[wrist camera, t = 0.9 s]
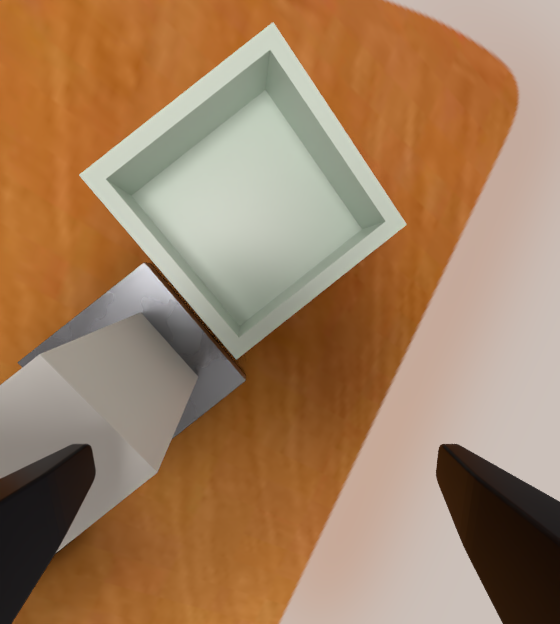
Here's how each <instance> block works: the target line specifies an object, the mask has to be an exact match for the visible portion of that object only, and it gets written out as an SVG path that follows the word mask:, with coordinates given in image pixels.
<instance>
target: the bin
mask: <svg viewBox="0 0 560 624" xmlns="http://www.w3.org/2000/svg"><path fill="white" fill-rule="evenodd" d="M79 176H80V177H81V178H82V179H83V180H84V182H85V183H86V184H87V185H88V186H89V187H90V189H91V190H92V191H93V192H94V193H95V194H96V196H97V197H98V198H99V199H100V200H101V201H102V203H103V204H104V205H105V206H106V207H107V209H108V210H109V211H110V212H111V213H112V214H113V216H114V217H115V218H116V219H117V220H118V221H119V223H120V224H121V225H122V226H123V227H124V228H125V230H126V231H127V232H128V233H129V234H130V235H131V237H132V238H133V239H134V240H135V241H136V243H137V244H138V245H139V246H140V247H141V248H142V250H143V251H144V252H145V253H146V254H147V255H148V257H149V258H150V259H151V260H152V261H153V262H154V264H155V265H156V266H157V267H158V268H159V270H160V271H161V272H162V273H163V274H164V275H165V277H166V278H167V279H168V280H169V281H170V282H171V284H172V285H173V286H174V287H175V288H176V289H177V291H178V292H179V293H180V294H181V295H182V296H183V298H184V299H185V300H186V301H187V302H188V304H189V305H190V306H191V307H192V308H193V309H194V311H195V312H196V313H197V314H198V315H199V316H200V318H201V319H202V320H203V321H204V322H205V323H206V325H207V326H208V327H209V328H210V329H211V331H212V332H213V333H214V334H215V335H216V336H217V338H218V339H219V340H220V341H221V342H222V343H223V345H224V346H225V347H226V348H227V349H228V350H229V352H230V353H231V354H232V355H233V356H234V357H235V359H236V360H237V359H238V358H239V357H241V356H242V355H243V354H244V353H246V352H247V351H248V350H249V349H251V348H252V347H253V346H254V345H256V344H257V343H258V342H259V341H261V340H262V339H263V338H264V337H266V336H267V335H268V334H269V333H271V332H272V331H273V330H275V329H276V328H277V327H278V326H280V325H281V324H282V323H283V322H285V321H286V320H287V319H288V318H290V317H291V316H292V315H293V314H295V313H296V312H297V311H298V310H300V309H301V308H302V307H304V306H305V305H306V304H307V303H309V302H310V301H311V300H312V299H314V298H315V297H316V296H317V295H319V294H320V293H321V292H322V291H324V290H325V289H326V288H327V287H329V286H330V285H331V284H332V283H334V282H335V281H336V280H338V279H339V278H340V277H341V276H343V275H344V274H345V273H346V272H348V271H349V270H350V269H351V268H353V267H354V266H355V265H356V264H358V263H359V262H360V261H361V260H363V259H364V258H365V257H366V256H368V255H369V254H370V253H372V252H373V251H374V250H375V249H377V248H378V247H379V246H380V245H382V244H383V243H384V242H385V241H387V240H388V239H389V238H390V237H392V236H393V235H394V234H395V233H397V232H398V231H399V230H401V229H402V228H403V227H404V226H406V225H407V224H406V223H405V221H404V220H403V218H402V217H401V215H400V214H399V212H398V211H397V209H396V208H395V206H394V205H393V203H392V201H391V200H390V198H389V197H388V195H387V194H386V192H385V191H384V189H383V188H382V186H381V185H380V183H379V182H378V180H377V179H376V177H375V176H374V174H373V173H372V171H371V170H370V168H369V167H368V165H367V164H366V162H365V161H364V159H363V158H362V156H361V155H360V153H359V151H358V150H357V148H356V147H355V145H354V144H353V142H352V141H351V139H350V138H349V136H348V135H347V133H346V132H345V130H344V129H343V127H342V126H341V124H340V123H339V121H338V120H337V118H336V117H335V115H334V114H333V112H332V111H331V109H330V108H329V106H328V105H327V103H326V101H325V100H324V98H323V97H322V95H321V94H320V92H319V91H318V89H317V88H316V86H315V85H314V83H313V82H312V80H311V79H310V77H309V76H308V74H307V73H306V71H305V70H304V68H303V67H302V65H301V64H300V62H299V61H298V59H297V58H296V56H295V54H294V53H293V51H292V50H291V48H290V47H289V45H288V44H287V42H286V41H285V39H284V38H283V36H282V35H281V33H280V32H279V30H278V29H277V27H276V26H275V24H274V23H271V24H270V25H269V26H267V27H266V28H265V29H264V30H262V31H261V32H260V33H259V34H257V35H256V36H255V37H253V38H252V39H251V40H250V41H248V42H247V43H246V44H245V45H243V46H242V47H241V48H239V49H238V50H237V51H236V52H234V53H233V54H232V55H231V56H229V57H228V58H227V59H226V60H224V61H223V62H222V63H220V64H219V65H218V66H217V67H215V68H214V69H213V70H212V71H210V72H209V73H208V74H206V75H205V76H204V77H203V78H201V79H200V80H199V81H198V82H196V83H195V84H194V85H192V86H191V87H190V88H189V89H187V90H186V91H185V92H184V93H182V94H181V95H180V96H179V97H177V98H176V99H175V100H173V101H172V102H171V103H170V104H168V105H167V106H166V107H165V108H163V109H162V110H161V111H159V112H158V113H157V114H156V115H154V116H153V117H152V118H151V119H149V120H148V121H147V122H145V123H144V124H143V125H142V126H140V127H139V128H138V129H137V130H135V131H134V132H133V133H132V134H130V135H129V136H128V137H126V138H125V139H124V140H123V141H121V142H120V143H119V144H118V145H116V146H115V147H114V148H112V149H111V150H110V151H109V152H107V153H106V154H105V155H104V156H102V157H101V158H100V159H98V160H97V161H96V162H95V163H93V164H92V165H91V166H90V167H88V168H87V169H86V170H85V171H83V172H82V173H81V174H79Z"/></svg>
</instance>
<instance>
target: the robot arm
mask: <svg viewBox="0 0 560 624" xmlns="http://www.w3.org/2000/svg"><path fill="white" fill-rule="evenodd" d="M95 475H96V468H95V462H94V457H93V451H92V447H91V446H90V445H89V444H71V445H69V446H67V447H65V448H63V449H61V450H59V451H57V452H55V453H52V454H50V455H48V456H46V457H44V458H42V459H40V460H38V461H36V462H34V463H32V464H30V465H28V466H25V467H23V468H21V469H19V470H17V471H15V472H13V473H11V474H9V475H7V476H5V477H3V478H0V624H12V622H13V621H14V619H15V617H16V616H17V614H18V613H19V611H20V609H21V608H22V606H23V605H24V603H25V601H26V600H27V598H28V597H29V595H30V593H31V592H32V590H33V589H34V587H35V585H36V584H37V582H38V581H39V579H40V577H41V576H42V574H43V573H44V571H45V569H46V568H47V566H48V565H49V563H50V561H51V560H52V558H53V556H54V555H55V554H56V552H57V550H58V548H59V546H60V545H61V543H62V541H63V539H64V538H65V536H66V534H67V532H68V530H69V528H70V526H71V524H72V522H73V521H74V519H75V517H76V515H77V513H78V511H79V509H80V507H81V505H82V503H83V501H84V499H85V497H86V495H87V493H88V491H89V489H90V487H91V486H92V484H93V482H94V479H95ZM436 477H437V481H438V484H439V487H440V489H441V491H442V494H443V496H444V499H445V501H446V504H447V507H448V509H449V511H450V514H451V516H452V519H453V521H454V524H455V527H456V529H457V532H458V534H459V536H460V539H461V541H462V543H463V546H464V548H465V550H466V552H467V554H468V556H469V558H470V560H471V562H472V564H473V566H474V568H475V570H476V572H477V574H478V576H479V578H480V580H481V582H482V584H483V586H484V588H485V590H486V592H487V594H488V596H489V597H490V599H491V601H492V603H493V605H494V607H495V609H496V611H497V613H498V615H499V617H500V619H501V621H502V623H503V624H560V502H559V501H557V500H556V499H554V498H552V497H550V496H549V495H547V494H545V493H543V492H542V491H540V490H538V489H536V488H534V487H532V486H531V485H529V484H527V483H525V482H524V481H522V480H520V479H518V478H516V477H515V476H513V475H511V474H510V473H508V472H506V471H504V470H503V469H501V468H499V467H497V466H496V465H494V464H492V463H490V462H488V461H487V460H485V459H483V458H481V457H479V456H478V455H476V454H474V453H472V452H471V451H469V450H467V449H465V448H464V447H462V446H460V445H458V444H442V445H440V447H439V451H438V459H437V469H436ZM74 539H75V538H74ZM74 539H73V540H74ZM69 543H70V542H69ZM69 543H68V544H69ZM64 547H65V546H64ZM64 547H63V548H64ZM60 550H61V549H60ZM60 550H59V551H60ZM59 551H58V552H59Z"/></svg>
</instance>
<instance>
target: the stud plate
mask: <svg viewBox="0 0 560 624" xmlns="http://www.w3.org/2000/svg"><path fill="white" fill-rule="evenodd" d="M140 312H141V313H142V314H143V315H144V316H145V318H146V319H147V320H148V321H149V322H150V323H151V324H152V325H153V327H154V328H155V329H156V330H157V331H158V332H159V333H160V334H161V336H162V337H163V338H164V339H165V340H166V341H167V342H168V343H169V344H170V346H171V347H172V348H173V349H174V350H175V351H176V352H177V353H178V355H179V356H180V357H181V358H182V359H183V360H184V361H185V362H186V364H187V365H188V366H189V367H190V368H191V369H192V370H193V371H194V373H195V374H196V375H197V376H198V379H197V381H196V383H195V386H194V388H193V390H192V393H191V395H190V397H189V400H188V402H187V404H186V407H185V409H184V411H183V414H182V416H181V418H180V421H179V423H178V426H177V428H176V430H175V433H174V435H173V437H172V439H173V438H174V437H175V436H176V435H178V434H179V433H180V432H181V431H183V430H184V429H185V428H186V427H188V426H189V425H190V424H192V423H193V422H194V421H195V420H197V419H198V418H199V417H200V416H202V415H203V414H204V413H205V412H207V411H208V410H209V409H210V408H212V407H213V406H214V405H215V404H217V403H218V402H219V401H220V400H222V399H223V398H224V397H225V396H227V395H228V394H229V393H231V392H232V391H233V390H234V389H236V388H237V387H238V386H239V385H241V384H242V383H243V382H244V381H246V375H245V374H244V373H243V372H242V370H241V369H240V368H239V367H238V366H237V365H236V363H235V362H234V361H233V360H232V359H231V358H230V356H229V355H228V354H227V353H226V352H225V350H224V349H223V348H222V347H221V346H220V345H219V343H218V342H217V341H216V340H215V339H214V338H213V336H212V335H211V334H210V333H209V332H208V331H207V329H206V328H205V327H204V326H203V325H202V324H201V322H200V321H199V320H198V319H197V318H196V317H195V315H194V314H193V313H192V312H191V311H190V310H189V308H188V307H187V306H186V305H185V304H184V303H183V301H182V300H181V299H180V298H179V297H178V296H177V294H176V293H175V292H174V291H173V290H172V289H171V287H170V286H169V285H168V284H167V283H166V282H165V280H164V279H163V278H162V277H161V276H160V275H159V273H158V272H157V271H156V270H155V269H154V267H153V266H152V265H151V264H150V263H145V262H144V263H143V264H142V265H140V266H139V267H138V268H137V269H135V270H134V271H133V272H132V273H130V274H129V275H128V276H126V277H125V278H124V279H123V280H121V281H120V282H119V283H118V284H116V285H115V286H114V287H113V288H111V289H110V290H109V291H107V292H106V293H105V294H104V295H102V296H101V297H100V298H99V299H97V300H96V301H95V302H94V303H92V304H91V305H90V306H89V307H87V308H86V309H85V310H83V311H82V312H81V313H80V314H78V315H77V316H76V317H75V318H73V319H72V320H71V321H70V322H68V323H67V324H66V325H64V326H63V327H62V328H61V329H59V330H58V331H57V332H56V333H54V334H53V335H52V336H51V337H49V338H48V339H47V340H45V341H44V342H43V343H42V344H40V345H39V346H38V347H37V348H35V349H34V350H33V351H32V352H30V353H29V354H28V355H27V356H25V357H24V358H23V359H21V360H20V361H19V362H18V364H20V365H21V366H22V367H24V366H25V365H27V364H28V363H29V362H30V361H32V360H33V359H34V358H35V357H37V356H38V355H39V354H41V353H43V352H46V351H48V350H51V349H53V348H56V347H58V346H60V345H63V344H65V343H68V342H70V341H73V340H75V339H77V338H80V337H82V336H85V335H87V334H89V333H92V332H94V331H97V330H99V329H102V328H104V327H106V326H109V325H111V324H114V323H116V322H118V321H121V320H123V319H126V318H128V317H131V316H133V315H135V314H138V313H140Z"/></svg>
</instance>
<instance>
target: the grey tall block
mask: <svg viewBox="0 0 560 624" xmlns="http://www.w3.org/2000/svg"><path fill="white" fill-rule="evenodd" d="M197 379H198V376H197V375H196V374H195V373H194V371H193V370H192V369H191V368H190V367H189V366H188V365H187V364H186V362H185V361H184V360H183V359H182V358H181V357H180V356H179V355H178V353H177V352H176V351H175V350H174V349H173V348H172V347H171V346H170V344H169V343H168V342H167V341H166V340H165V339H164V338H163V337H162V336H161V334H160V333H159V332H158V331H157V330H156V329H155V328H154V327H153V325H152V324H151V323H150V322H149V321H148V320H147V319H146V318H145V316H144V315H143V314H142V313H141V312H140V313H138V314H135V315H133V316H131V317H128V318H126V319H123V320H121V321H118V322H116V323H114V324H111V325H109V326H106V327H104V328H102V329H99V330H97V331H94V332H92V333H89V334H87V335H85V336H82V337H80V338H77V339H75V340H73V341H70V342H68V343H65V344H63V345H60V346H58V347H56V348H53V349H51V350H48V351H46V352H43V353H41V354H39V355H38V356H37V357H35V358H34V359H33V360H32V361H30V362H29V363H28V364H27V365H25V366H24V367H23V368H21V369H20V370H19V371H18V372H16V373H15V374H14V375H13V376H11V377H10V378H9V379H8V380H6V381H5V382H4V383H2V384H1V385H0V478H3V477H5V476H7V475H9V474H11V473H13V472H15V471H17V470H19V469H21V468H23V467H25V466H28V465H30V464H32V463H34V462H36V461H38V460H40V459H42V458H44V457H46V456H48V455H50V454H52V453H55V452H57V451H59V450H61V449H63V448H65V447H67V446H69V445H71V444H89V445H90V446H91V447H92V451H93V457H94V462H95V468H96V475H95V479H94V482H93V484H92V486H91V487H90V489H89V491H88V493H87V495H86V497H85V499H84V501H83V503H82V505H81V507H80V509H79V511H78V513H77V515H76V517H75V519H74V521H73V522H72V524H71V526H70V528H69V530H68V532H67V534H66V536H65V538H64V539H63V541H62V543H61V545H60V546H59V548H58V550H57V552H58V551H59V550H60V549H62V548H63V547H64V546H66V545H67V544H68V543H69V542H71V541H72V540H73V539H74V538H76V537H77V536H78V535H79V534H81V533H82V532H83V531H84V530H86V529H87V528H88V527H89V526H91V525H92V524H93V523H94V522H96V521H97V520H98V519H99V518H101V517H102V516H103V515H105V514H106V513H107V512H108V511H110V510H111V509H112V508H113V507H115V506H116V505H117V504H118V503H120V502H121V501H122V500H123V499H125V498H126V497H127V496H128V495H130V494H131V493H132V492H133V491H135V490H136V489H137V488H138V487H140V486H141V485H142V484H144V483H145V482H146V481H147V480H149V479H150V478H151V477H152V476H154V475H155V474H156V473H157V472H158V470H159V468H160V465H161V463H162V461H163V458H164V456H165V454H166V451H167V449H168V447H169V444H170V442H171V440H172V437H173V435H174V433H175V430H176V428H177V426H178V423H179V421H180V418H181V416H182V414H183V411H184V409H185V407H186V404H187V402H188V400H189V397H190V395H191V393H192V390H193V388H194V386H195V383H196V381H197ZM57 552H56V553H57Z"/></svg>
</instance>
